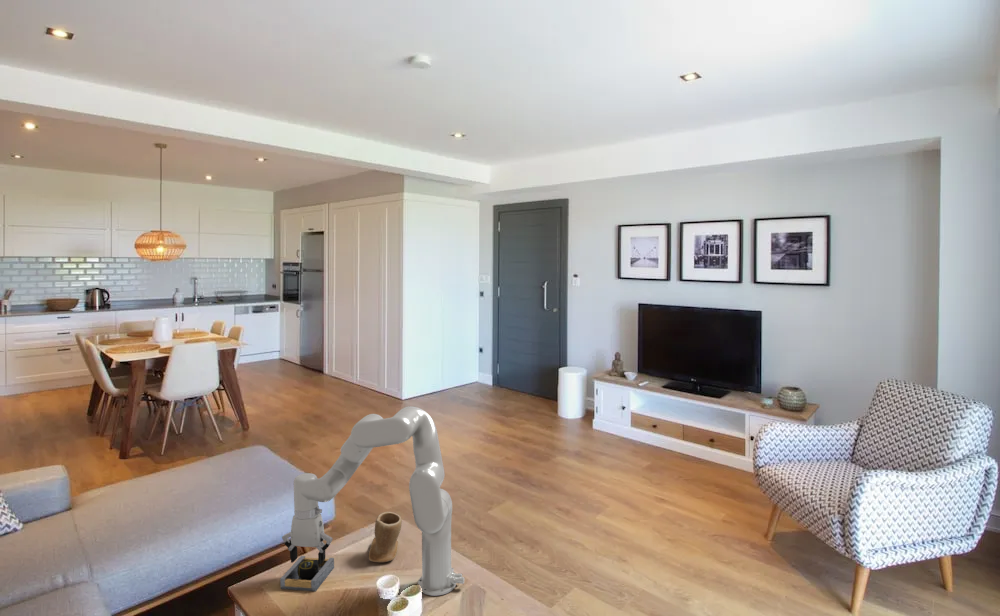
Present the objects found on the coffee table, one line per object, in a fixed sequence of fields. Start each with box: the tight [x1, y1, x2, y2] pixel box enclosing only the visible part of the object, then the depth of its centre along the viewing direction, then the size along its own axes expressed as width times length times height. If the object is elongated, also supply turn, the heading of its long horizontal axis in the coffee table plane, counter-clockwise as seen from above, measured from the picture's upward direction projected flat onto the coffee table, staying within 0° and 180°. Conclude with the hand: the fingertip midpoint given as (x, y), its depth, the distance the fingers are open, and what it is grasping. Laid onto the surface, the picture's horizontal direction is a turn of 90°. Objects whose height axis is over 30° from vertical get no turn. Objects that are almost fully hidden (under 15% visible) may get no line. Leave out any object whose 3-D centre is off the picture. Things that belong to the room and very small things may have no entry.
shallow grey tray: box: [279, 555, 335, 592], centre depth 181 cm, size 12×14×4 cm
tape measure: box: [297, 560, 319, 579], centre depth 181 cm, size 7×7×4 cm
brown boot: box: [368, 511, 403, 563], centre depth 196 cm, size 15×12×15 cm
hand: (307, 561), depth 181 cm, fingers open, 9 cm apart
